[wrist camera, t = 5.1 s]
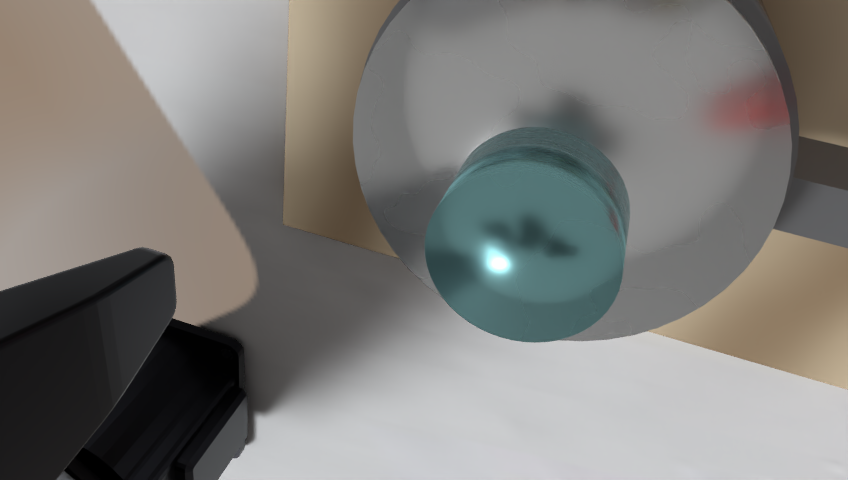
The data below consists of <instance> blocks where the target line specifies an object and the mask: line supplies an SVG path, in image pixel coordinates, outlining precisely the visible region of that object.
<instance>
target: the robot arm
mask: <svg viewBox="0 0 848 480" xmlns="http://www.w3.org/2000/svg"><path fill="white" fill-rule="evenodd" d="M175 309H176V289H175V276H174V264H173V261H172V259H171V257H170V256H168V255H167V254H165V253H162V252H159V251H155V250H152V249H149V248H143V247H142V248H136V249H133V250H130V251H127V252H124V253H120V254H117V255H114V256H111V257H108V258H104V259H101V260H98V261H95V262H92V263H89V264H85V265H82V266H79V267H76V268H73V269H70V270H66V271H63V272H60V273H57V274H54V275H50V276H47V277H44V278H41V279H38V280H34V281H31V282H28V283H25V284H21V285H18V286H15V287H12V288H9V289H5V290H3V291H0V480H218V479H219V477H220V476H221V474H222V473H223V471H224V470H225V468H226V467H227V465H228V464H229V463H230V461H231V460H232V458H238V457H239V456H240V454H241V453H242V451H243V450H244V447H245V439H246V438H247V435H248V396H247V393H246V391H245V389H244V349H243V347H242V345H241V344H240V343H239V342H238V341H237V340H235V339H233V338H231V337H228V336H225V335H222V334H219V333H215V332H212V331H209V330H206V329H203V328H200V327H197V326H194V325H191V324H188V323H185V322H182V321H179V320H176V319H173V318H172V317H173V315H174V312H175Z"/></svg>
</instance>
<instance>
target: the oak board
mask: <svg viewBox="0 0 848 480" xmlns="http://www.w3.org/2000/svg"><path fill="white" fill-rule="evenodd" d="M399 1H400V0H289V25H288V60H287V95H286V129H285V164H284V199H283V225H286V226H290V227H293V228H296V229H300V230H303V231H307V232H310V233H314V234H317V235H320V236H324V237H327V238H331V239H334V240H338V241H341V242H344V243H348V244H351V245H355V246H358V247H361V248H365V249H368V250H372V251H375V252H379V253H382V254H385V255H389V256H392V257H396V258H399V257H398V256H397V255H396V253H395V252H394V251H393V249H392V248H391V247H390V245H389V244H388V242H387V241H386V239H385V238H384V236H383V235H382V233H381V232H380V230H379V228H378V226H377V224H376V222H375V220H374V218H373V216H372V215H371V213H370V211H369V208H368V205H367V203H366V200H365V197H364V195H363V192H362V190H361V186H360V182H359V178H358V174H357V169H356V165H355V156H354V147H353V117H354V110H355V104H356V98H357V92H358V89H359V85H360V81H361V77H362V73H363V70H364V67H365V63H366V60H367V57H368V54H369V51H370V49H371V47H372V45H373V43H374V40H375V38H376V36H377V34H378V32H379V30H380V28H381V27H382V25H383V23H384V22H385V20H386V19H387V17H388V16H389V14H390V13H391V11H392V9H393V8H394V6H395V5H396V4H397V3H398V2H399ZM762 1H763V3H764V6H765V8H766V11H767V13H768V15H769V18H770V20H771V23H772V25H773V28H774V31H775V33H776V36H777V38H778V41H779V44H780V46H781V49H782V51H783V54H784V57H785V59H786V62H787V64H788V67H789V70H790V74H791V78H792V82H793V86H794V90H795V94H796V98H797V107H798V118H799V136H802V137H806V138H810V139H814V140H819V141H823V142H827V143H831V144H836V145H840V146H844V147H848V0H762ZM399 259H400V258H399ZM649 332H652V333H656V334H659V335H662V336H666V337H669V338H673V339H676V340H680V341H683V342H686V343H690V344H693V345H697V346H700V347H704V348H707V349H710V350H714V351H717V352H721V353H724V354H727V355H731V356H734V357H738V358H741V359H745V360H748V361H751V362H755V363H758V364H762V365H765V366H769V367H772V368H775V369H779V370H782V371H786V372H789V373H792V374H796V375H799V376H803V377H806V378H810V379H813V380H816V381H820V382H823V383H827V384H830V385H834V386H837V387H840V388H844V389H847V390H848V248H844V247H841V246H837V245H833V244H829V243H825V242H821V241H817V240H814V239H810V238H806V237H802V236H798V235H794V234H790V233H787V232H783V231H779V230H775V229H772V231H771V233H770V234H769V236H768V238H767V240H766V241H765V243H764V245H763V247H762V248H761V250H760V251H759V253H758V254H757V255H756V256H755V258H754V259H753V260H752V262H751V263H750V264H749V265H748V267H747V268H746V269H745V270H744V272H743V273H742V274H741V275H740V276H738V277H737V278H736V279H735V280H734V281H733V282H732V283H731V284H730V285H729V286H728V287H727V288H726V289H725V290H724V291H722V292H721V293H720V294H718V295H717V296H716V297H714V298H713V299H712V300H710V301H709V302H708V303H706V304H705V305H704V306H702V307H700V308H698V309H696V310H695V311H693V312H691V313H689V314H688V315H686V316H684V317H682V318H680V319H678V320H676V321H673V322H671V323H668V324H666V325H664V326H661V327H659V328H656V329H652V330H649Z"/></svg>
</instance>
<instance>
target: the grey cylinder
mask: <svg viewBox="0 0 848 480" xmlns="http://www.w3.org/2000/svg"><path fill="white" fill-rule="evenodd" d="M409 1H410V0H400V1H399V2H398V3H397V4H396V5H395V6H394V8H393V9H392V11H391V13H390V14H389V16H388V17H387V19H386V20H385V22H384V23H383V25H382V27H381V28H380V30H379V32H378V34H377V36H376V38H375V40H374V43H373V45H372V47H371V49H370V51H369V54H368V57H367V60H366V63H365V67H366V65H367V62H368V60H369V58H370V56H371V54H372V52H373V49H374V47H375V45H376V44H377V42H378V40H379V39H380V37H381V36H382V34H383V33H384V31H385V30H386V28H387V27H388V25H389V23H390V22H391V21H392V20H393V19H394V18H395V16H396V15H397V14H398V13H399V12H400V11H401V9H402V8H403V7H404V6H405V5H406V4H407V3H408V2H409ZM732 1H733V3H734V4H735V5H736V6H737V7H738V8H739V9H740V11H741V12H742V13H743V14H744V15H745V16H746V17H747V19H748V20H749V21H750V23H751V24H752V26H753V27H754V29H755V30H756V32H757V34H758V35H759V37H760V38H761V40H762V41H763V43H764V45H765V46H766V49H767V51H768V53H769V55H770V58H771V60H772V62H773V65H774V67H775V69H776V71H777V74H778V77H779V80H780V83H781V86H782V89H783V93H784V97H785V101H786V105H787V109H788V113H789V118H790V129H791V139H792V153H791V169H790V177H789V181H788V186H787V190H786V194H785V199H784V202H783V205H782V207H781V210H780V213H779V215H778V218H777V220H776V223H775V225H774V227H773V229H775V230H779V231H783V232H787V233H790V234H794V235H798V236H802V237H806V238H810V239H814V240H817V241H821V242H825V243H829V244H833V245H837V246H841V247H844V248H848V147H844V146H840V145H836V144H831V143H827V142H823V141H819V140H814V139H810V138H806V137H802V136H799V118H798V107H797V98H796V94H795V90H794V86H793V82H792V78H791V74H790V70H789V67H788V64H787V62H786V59H785V57H784V54H783V51H782V49H781V46H780V44H779V41H778V38H777V36H776V33H775V31H774V28H773V25H772V23H771V20H770V18H769V15H768V13H767V11H766V8H765V6H764V3H763V1H762V0H732ZM365 67H364V69H365ZM363 72H364V70H363ZM362 75H363V73H362ZM361 79H362V77H361ZM360 82H361V81H360Z"/></svg>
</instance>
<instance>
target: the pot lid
mask: <svg viewBox="0 0 848 480" xmlns="http://www.w3.org/2000/svg"><path fill="white" fill-rule="evenodd" d="M353 147H354V156H355V165H356V169H357V174H358V178H359V182H360V186H361V190H362V192H363V195H364V197H365V200H366V203H367V205H368V208H369V211H370V213H371V215H372V216H373V218H374V220H375V222H376V224H377V226H378V228H379V230H380V232H381V233H382V235H383V236H384V238H385V239H386V241H387V242H388V244H389V245H390V247H391V248H392V249H393V251H394V252H395V253H396V255H397V256H398V257H399V258H400V259H401V260H402V262H403V263H404V264H405V265H406V266H407V267H408V269H409V270H410V271H411V272H413V273H414V274H415V275H416V276H417V277H418V278H419V279H420V280H421V281H422V282H423V283H424V284H425V285H426V286H428V287H429V288H430V289H432V290H433V291H434V292H436V293H437V294H438V295H440V296H441V297H442V298H443V299H444V300H445V301H446V302H447V303H448V305H449V306H450V307H451V308H452V309H453V310H454V311H456V312H457V313H458V314H459V315H460V316H461V317H463V318H464V319H465V320H467V321H468V322H470V323H471V324H473V325H475V326H476V327H478V328H480V329H482V330H484V331H486V332H488V333H491V334H493V335H496V336H499V337H502V338H506V339H510V340H515V341H522V342H549V341H555V340H569V341H592V340H607V339H613V338H619V337H625V336H631V335H635V334H639V333H642V332H646V331H649V330H652V329H656V328H659V327H661V326H664V325H666V324H668V323H671V322H673V321H676V320H678V319H680V318H682V317H684V316H686V315H688V314H689V313H691V312H693V311H695V310H696V309H698V308H700V307H702V306H704V305H705V304H706V303H708V302H709V301H710V300H712V299H713V298H714V297H716V296H717V295H718V294H720V293H721V292H722V291H724V290H725V289H726V288H727V287H728V286H729V285H730V284H731V283H732V282H733V281H734V280H735V279H736V278H737V277H738V276H740V275H741V274H742V273H743V272H744V270H745V269H746V268H747V267H748V265H749V264H750V263H751V262H752V260H753V259H754V258H755V256H756V255H757V254H758V253H759V251H760V250H761V248H762V247H763V245H764V243H765V241H766V240H767V238H768V236H769V234H770V233H771V231H772V229H773V227H774V225H775V223H776V220H777V218H778V215H779V213H780V210H781V207H782V205H783V202H784V199H785V194H786V190H787V186H788V181H789V177H790V169H791V153H792V139H791V129H790V118H789V113H788V109H787V105H786V101H785V97H784V93H783V89H782V86H781V83H780V80H779V77H778V74H777V71H776V69H775V67H774V65H773V62H772V60H771V58H770V55H769V53H768V51H767V49H766V46H765V45H764V43H763V41H762V40H761V38H760V37H759V35H758V34H757V32H756V30H755V29H754V27H753V26H752V24H751V23H750V21H749V20H748V19H747V17H746V16H745V15H744V14H743V13H742V12H741V11H740V9H739V8H738V7H737V6H736V5H735V4H734V3H733V1H732V0H410V1H409V2H408V3H407V4H406V5H405V6H404V7H403V8H402V9H401V11H400V12H399V13H398V14H397V15H396V16H395V18H394V19H393V20H392V21H391V22H390V23H389V25H388V27H387V28H386V30H385V31H384V33H383V34H382V36H381V37H380V39H379V40H378V42H377V44H376V45H375V47H374V49H373V52H372V54H371V56H370V58H369V60H368V62H367V65H366V67H365V69H364V72H363V75H362V79H361V82H360V85H359V89H358V92H357V98H356V104H355V110H354V117H353Z"/></svg>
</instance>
